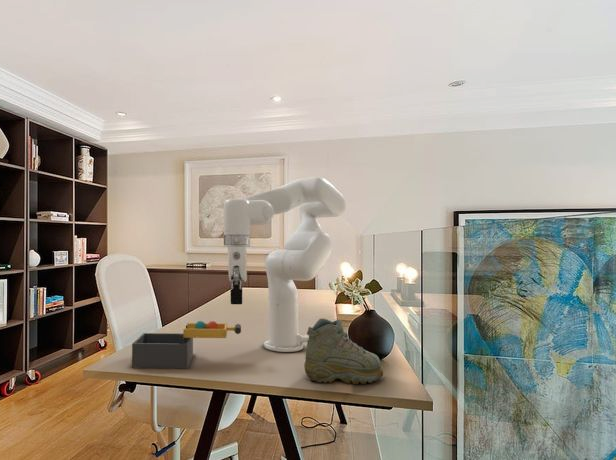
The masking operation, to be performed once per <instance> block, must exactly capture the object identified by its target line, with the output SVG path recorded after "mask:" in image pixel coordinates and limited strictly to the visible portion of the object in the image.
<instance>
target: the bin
mask: <svg viewBox="0 0 616 460" xmlns="http://www.w3.org/2000/svg"><path fill="white" fill-rule="evenodd" d="M185 329H187V324H186V325H185ZM193 356H194V338H184V335H183V333H179V332H178V333H173V332H172V333H171V332H170V333H168V332H167V333H163V332H161V333H160V332H159V333H158V332H154V333H153V332H143V333H142V334H141V335H140V336H139V337H138V338H137V339H136V340H135V341H133V342H132V343H131V368H133V369H137V368H139V369H141V368H142V369H188V367H189V365H190V363H191V361H192V359H193Z"/></svg>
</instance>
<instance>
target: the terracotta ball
mask: <svg viewBox="0 0 616 460" xmlns="http://www.w3.org/2000/svg"><path fill="white" fill-rule="evenodd" d="M207 323H208V324H207V329H218V324H217V323H218V322H216V321H214V320H211V321H209V322H207Z"/></svg>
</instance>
